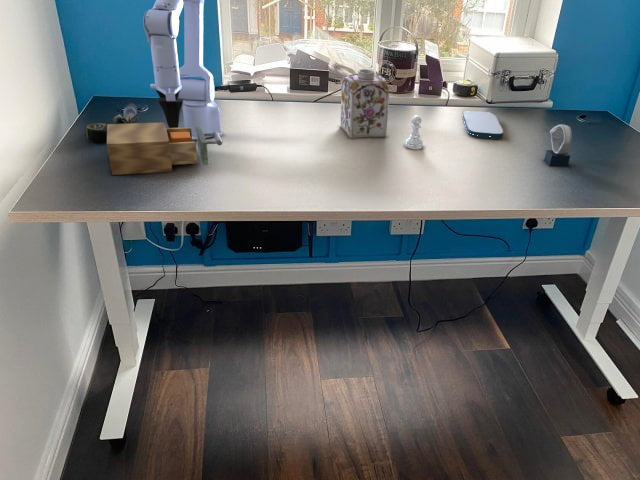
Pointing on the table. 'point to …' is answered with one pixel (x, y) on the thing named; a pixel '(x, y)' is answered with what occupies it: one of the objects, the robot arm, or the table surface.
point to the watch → (559, 153)
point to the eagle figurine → (126, 115)
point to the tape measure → (96, 132)
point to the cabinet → (138, 148)
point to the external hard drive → (482, 124)
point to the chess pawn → (414, 135)
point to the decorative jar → (364, 105)
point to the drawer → (191, 146)
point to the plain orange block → (180, 137)
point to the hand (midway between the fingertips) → (172, 122)
